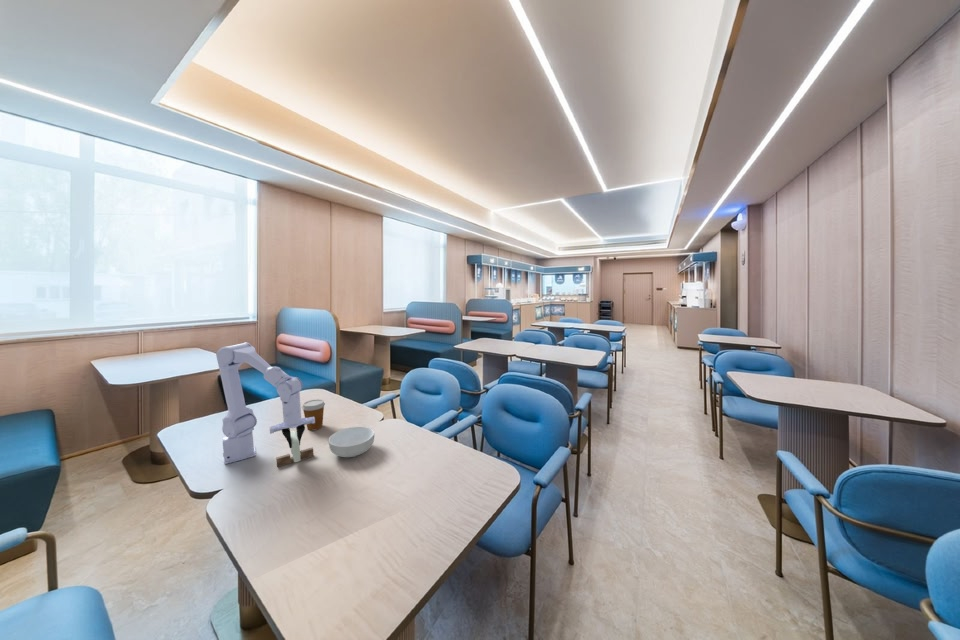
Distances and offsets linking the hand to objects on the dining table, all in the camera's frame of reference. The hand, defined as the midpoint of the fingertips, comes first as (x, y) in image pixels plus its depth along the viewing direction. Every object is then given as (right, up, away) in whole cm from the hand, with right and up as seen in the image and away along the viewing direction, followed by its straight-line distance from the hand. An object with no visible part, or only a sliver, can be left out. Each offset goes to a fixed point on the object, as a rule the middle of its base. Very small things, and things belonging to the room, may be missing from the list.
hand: (294, 445), depth 118 cm
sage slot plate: (0, -4, 0) cm, 3 cm away
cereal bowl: (+19, -5, +6) cm, 21 cm away
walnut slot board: (0, -6, +1) cm, 6 cm away
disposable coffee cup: (-7, -3, +29) cm, 30 cm away
